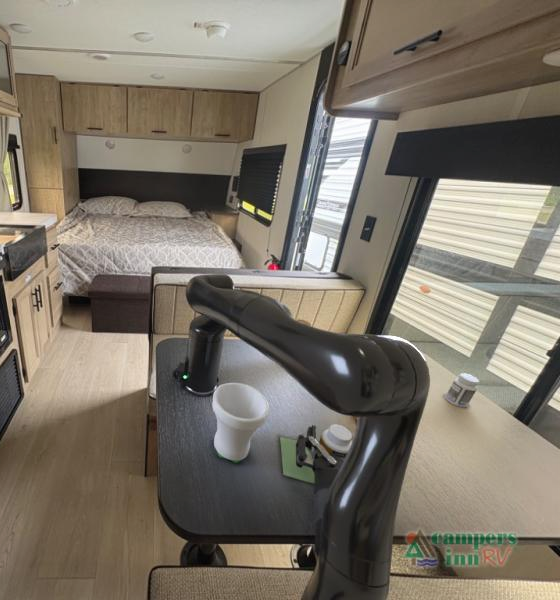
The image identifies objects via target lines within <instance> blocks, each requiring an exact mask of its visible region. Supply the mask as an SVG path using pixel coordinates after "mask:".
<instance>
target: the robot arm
mask: <svg viewBox="0 0 560 600" xmlns="http://www.w3.org/2000/svg"><path fill="white" fill-rule="evenodd" d="M185 298H186V301H187V304H188V305H189V307H190V309H191V310H193V312H195V313H197V314H199V315H198V316H196V317H194V318H192V320H191V321H190V323H189V330H188V337H187V338H188V339H187V348H186V356H185V358H184V362H181V361H180V362H179V364H178V366H177V367H176V368H175V369H173V370H172V373H171V374H172V377H173V379H174V380H175V381H176V380H178V379H179V378H180V379H182V381H181V382H182V383H181V388H182V389H185V390H186V391H187V392H188V393H190V394H192V395H195V396H199V397H206V396H210V395H213V394H214V392H215V390H216V388H217V387H218V386H217V385H218V383H219V382H220V381H219V380H220V378H219V370H220V364H221V359H222V353H223V347H224V346H223V345H224V340H225V336H226V332H227V331H229V332H230V333H232V334H233V335H234V336H235V337H237V338H238V339H239V340H241V341H242V342H244V344H247V345H248V346H250V347H251V348H253V349H255V350H256V351H257V352H259V353H260V354H262V355H263V356H265V358H267V359H269V360H270V361H272V362H274V363H275V364H276V365H277V366H278V367H280V368H281V369H282V370H283V371H284V372H286V373H287V374H288V375H289V376H290V377H291V378H292V379H293V380H294V381H295V382H296V383H298V384H299V385H300V386H301V387H302V388H303V389H304V390H305V391H307V392H308V393H309V395H311V396H312V397H314V398H315V399H316V400H317V401H318V402H319V403H320V404H322V405H323V406H325V407H326V408H328V410H331V411H333V412H335V413H337V414H339V415H343V416H347V417H354V418H355V417H358V418H357V419H356V426H355V430H354V431H355V432H354V435H353V437H352V438H353V439H352V440H351V442H352V444H351V447H350V449H349V452H348V454H347V456H346V458H343V457H338V456H336V455H335V454H332V453H330V452H329V453H328V452H327V451H326V450H325V448H324V447H323V446H322V445H319V444H318V443H319V441H317V440H316V439H317V426H316V425H314V424H312V425H311V426H308V428H307V430H306V436H304V435H303V434H299V435H298V438H297V440H296V441H297V442H296V465H297V466H298V467H300V468H302V467H303V465H304V466H307V467H309V468H312V470H313V472H314V484H313V500H312V501H313V502H312V507H313V519H314V523H315V525H314V527H315V531H314V534H315V536H314V537H315V538H314V539H315V540H314V543H315V544H314V557H315V563H316V564H315V566H314V569H313V571H312V574H311V576H310V577H309V580H308V581H307V584H306V585H305V588H304V589H303V592H302V595H301V597H300V600H387V599H388V595H389V592H390V582H391V570H392V559H393V558H392V556H393V547H394V546H393V545H394V534H395V524H396V518H397V512H398V506H399V501H400V496H401V493H402V488H403V484H404V481H405V475H406V473H407V469H408V465H409V461H410V457H411V454H412V450H413V448H414V443H415V440H416V437H417V433H418V429H419V426H420V423H421V421H422V417H423V414H424V412H425V411H424V410H425V407H426V403H427V400H428V397H429V392H430V386H431V373H430V368H429V366H428V363H427V361H426V359H425V357H424V355H423V354H422V352H421V351H420V350H419V349H418V348H417V347H416V346H415V345H414V344H412V343H410V342H409V341H408V340H406V339H404V338H401V337H398V336H394V335H388V334H372V333H371V334H368V333H367V334H366V333H343V332H342V333H341V332H335V331H329V330H326V329H322V328H319V327H315V326H312V325H311V326H309V325H307V324H304V323H301V322H299V321H297V320H298V319H295V318H294V315H293V313H292V312H291V309H290V308H288V306H286V304H285V303H283V302H281V301H280V300H279V299H276V298H273V297H271V296H268V295H266V294H263V293H260V292H256V291H253V290H247V289H236V288H235V284H234V281H233V279H232V277H230V275H228V274H226V273H225V274H224V273H221V274H219V273H218V274H199V275H195V276H193V277H191V278H190V279H189V281H188V282H187V284H186V285H185ZM305 447H306V448H307V449H308V451H309V452H310V453H311V457H312V459H313V460H314V461H312V460H310V458H309V456H308V453H306V448H305ZM320 454H321V456H320Z"/></svg>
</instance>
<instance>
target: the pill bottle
mask: <svg viewBox="0 0 560 600" xmlns="http://www.w3.org/2000/svg"><path fill="white" fill-rule="evenodd" d="M479 383H480V379H478V378H477V377H476V376H474V375H472V374H470V373H465V372H461V373H459V375H458V376H457V378H455V379H454V380H453V381H452V383H451V385H450V387H449V389H448V391H447V392H446V394H445V399H446V400H447V401H448V402H449V403H451V404H453V405H455V406H458V407H462V408H464V407H468V405H469V404H470V401H472V398H473V397H474V395H475V393H476V392H477V390H478V387H477V386H479Z"/></svg>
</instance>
